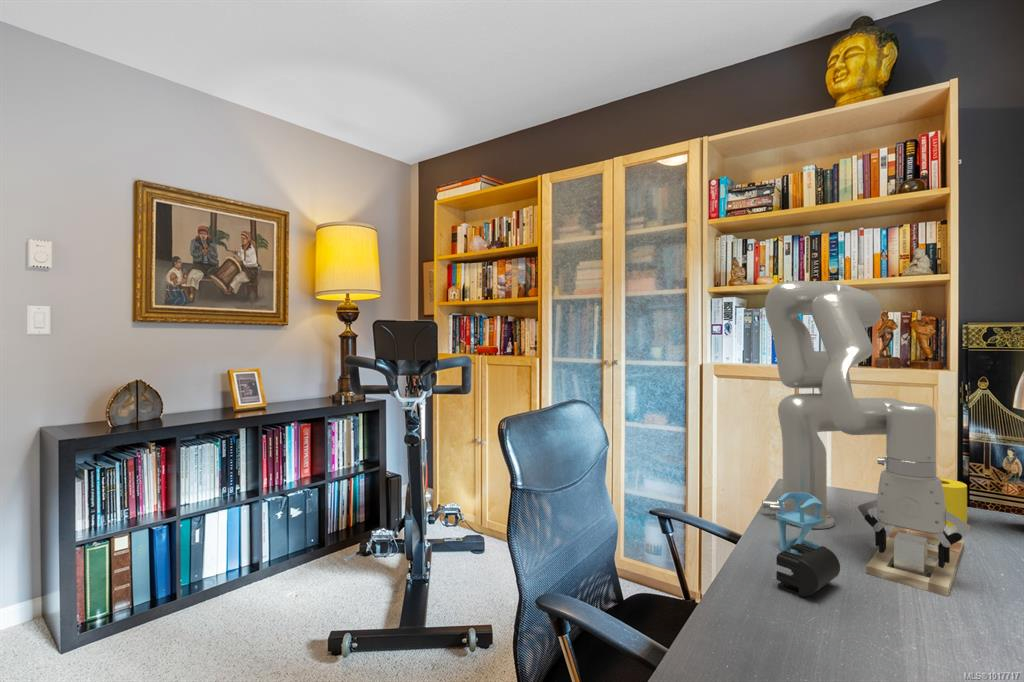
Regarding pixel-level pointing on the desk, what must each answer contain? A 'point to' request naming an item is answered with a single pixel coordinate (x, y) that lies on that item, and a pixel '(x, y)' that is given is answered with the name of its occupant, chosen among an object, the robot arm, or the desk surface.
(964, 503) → the tape roll
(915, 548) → the steel block
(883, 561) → the hole rail
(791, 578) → the power tool battery
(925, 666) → the desk surface
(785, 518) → the chair
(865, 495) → the desk surface
